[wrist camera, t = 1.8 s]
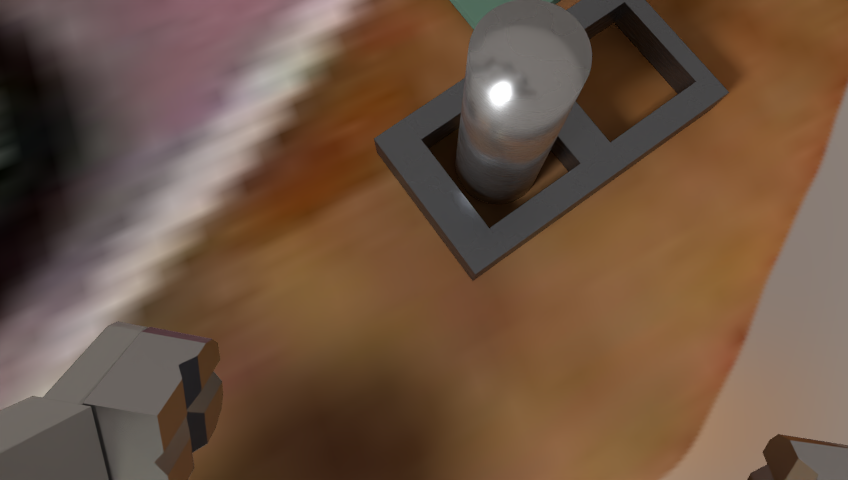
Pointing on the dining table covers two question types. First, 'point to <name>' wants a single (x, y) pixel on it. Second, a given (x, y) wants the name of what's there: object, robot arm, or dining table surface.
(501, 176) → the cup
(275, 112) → the dining table surface
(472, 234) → the grey double frame
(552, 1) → the mat
